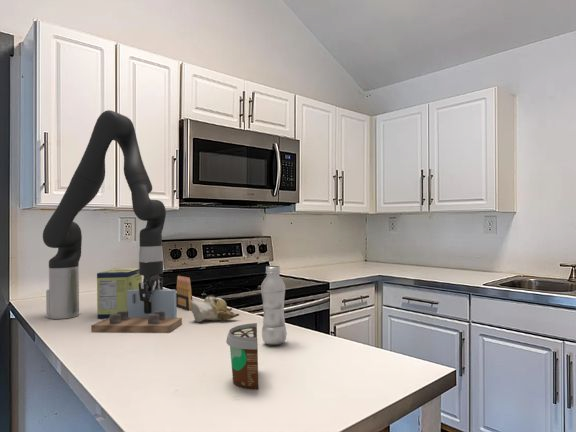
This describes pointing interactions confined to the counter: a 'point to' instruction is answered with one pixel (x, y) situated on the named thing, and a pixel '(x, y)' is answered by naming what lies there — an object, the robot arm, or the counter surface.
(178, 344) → the counter surface
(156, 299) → the door
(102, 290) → the protein box
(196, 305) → the ceramic sculpture
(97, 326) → the cabinet base
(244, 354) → the food container
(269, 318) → the plastic bottle
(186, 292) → the ammunition clip
